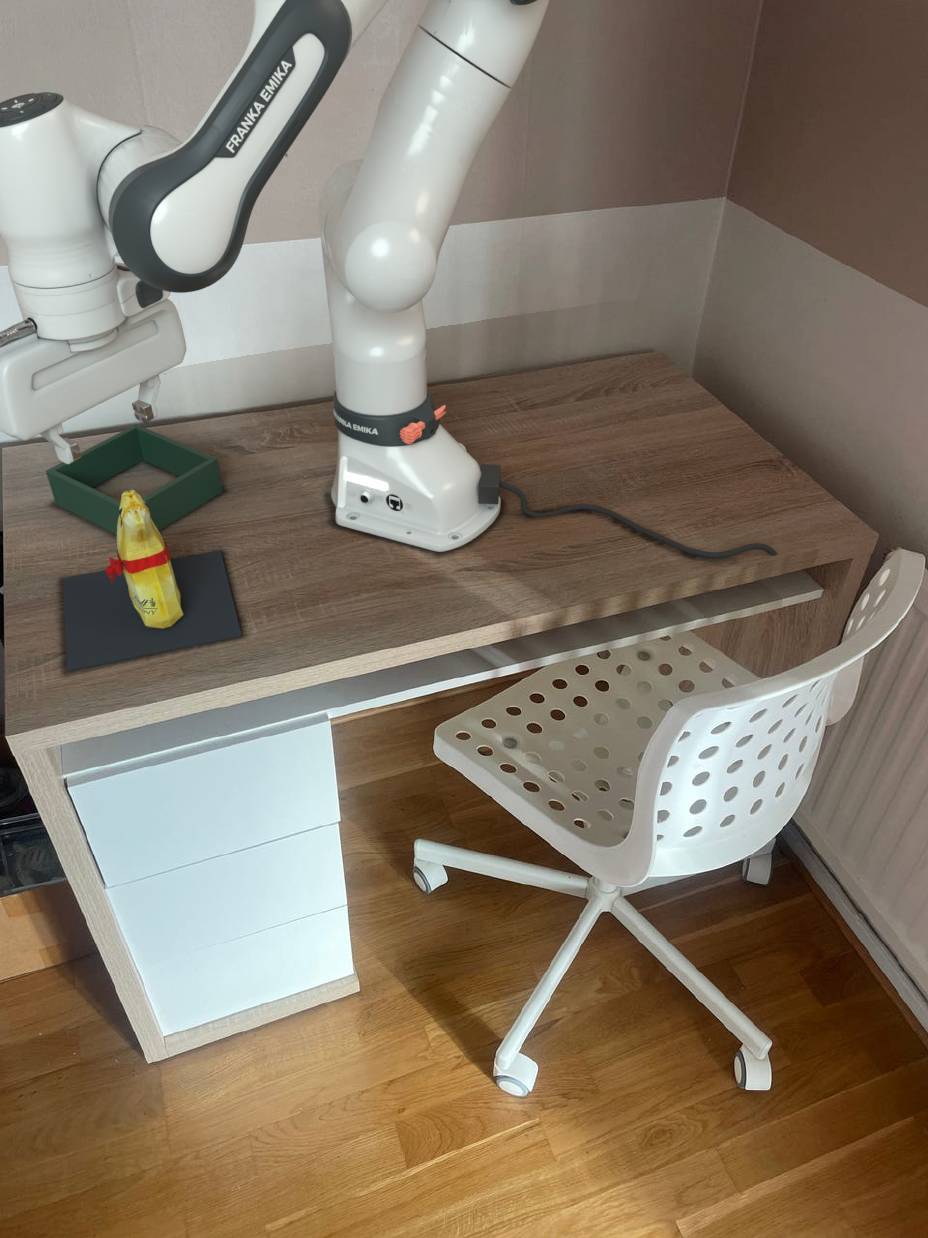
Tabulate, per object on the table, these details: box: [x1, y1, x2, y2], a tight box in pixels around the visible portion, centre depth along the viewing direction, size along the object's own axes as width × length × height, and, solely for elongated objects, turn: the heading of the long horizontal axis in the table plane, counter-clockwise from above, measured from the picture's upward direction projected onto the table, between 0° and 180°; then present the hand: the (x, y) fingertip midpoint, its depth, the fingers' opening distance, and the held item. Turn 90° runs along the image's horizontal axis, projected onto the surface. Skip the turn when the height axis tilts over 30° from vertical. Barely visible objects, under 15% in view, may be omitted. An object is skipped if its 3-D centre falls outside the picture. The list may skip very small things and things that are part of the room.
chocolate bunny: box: [104, 489, 184, 628], centre depth 104 cm, size 7×11×15 cm, turn 27°
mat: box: [62, 549, 243, 672], centre depth 109 cm, size 18×16×1 cm
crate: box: [45, 423, 224, 536], centre depth 124 cm, size 15×15×5 cm
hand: (110, 438), depth 95 cm, fingers open, 8 cm apart
